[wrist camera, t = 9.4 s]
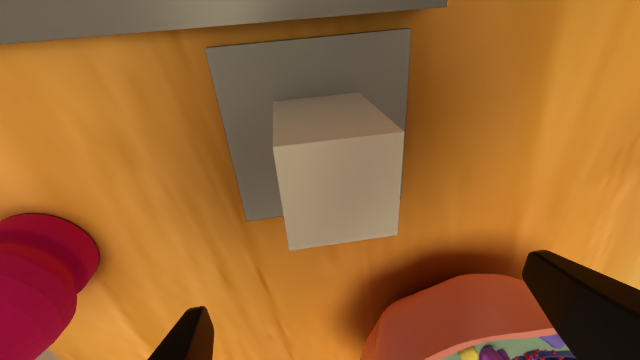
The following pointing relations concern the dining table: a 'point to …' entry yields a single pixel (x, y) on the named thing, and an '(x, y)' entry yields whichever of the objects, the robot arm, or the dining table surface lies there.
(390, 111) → the mat
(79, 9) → the power strip
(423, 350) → the cell model
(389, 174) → the block
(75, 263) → the pepper mill
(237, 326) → the dining table surface
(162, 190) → the dining table surface
